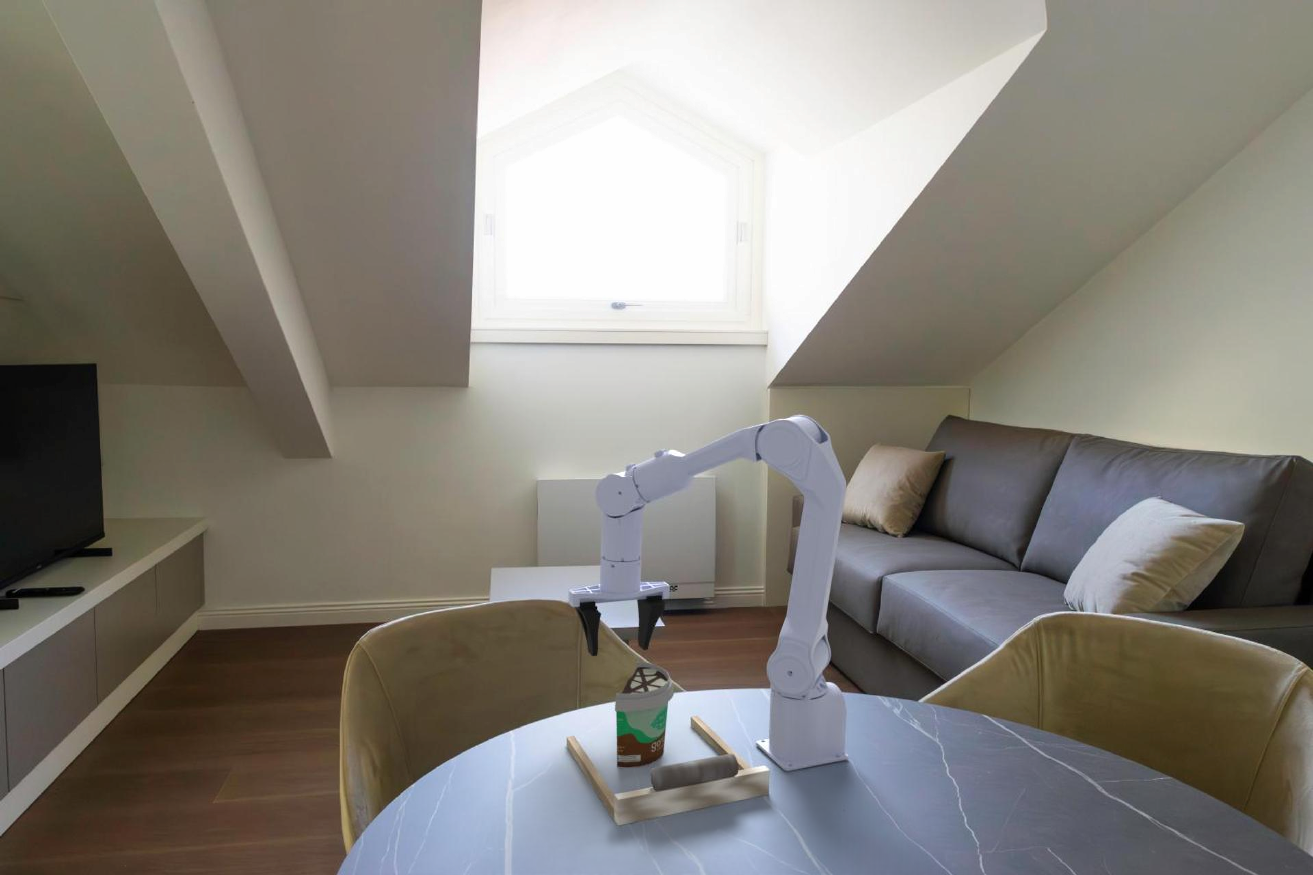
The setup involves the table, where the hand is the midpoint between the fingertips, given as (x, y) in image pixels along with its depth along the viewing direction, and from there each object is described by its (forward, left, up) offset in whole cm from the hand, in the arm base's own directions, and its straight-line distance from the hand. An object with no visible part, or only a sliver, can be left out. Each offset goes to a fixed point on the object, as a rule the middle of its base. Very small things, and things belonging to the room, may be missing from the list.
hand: (618, 650), depth 120 cm
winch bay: (0, +16, -10) cm, 18 cm away
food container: (0, +12, -10) cm, 15 cm away
